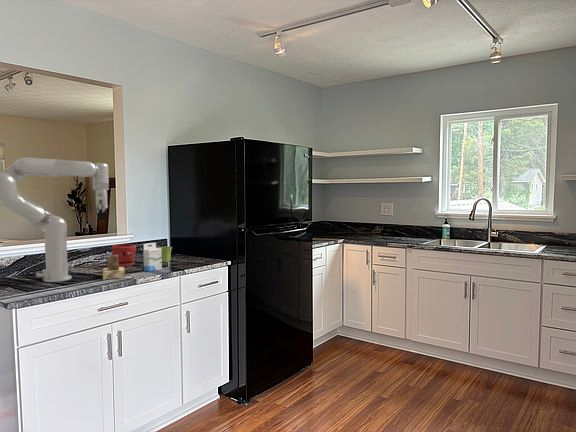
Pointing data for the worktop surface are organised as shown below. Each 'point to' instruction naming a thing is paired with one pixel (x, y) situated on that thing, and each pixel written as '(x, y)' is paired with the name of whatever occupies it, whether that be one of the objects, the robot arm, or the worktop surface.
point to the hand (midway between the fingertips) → (101, 219)
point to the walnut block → (113, 262)
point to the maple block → (113, 273)
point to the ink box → (152, 257)
